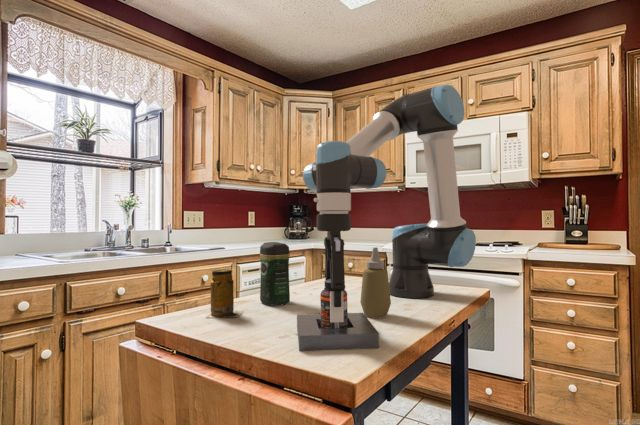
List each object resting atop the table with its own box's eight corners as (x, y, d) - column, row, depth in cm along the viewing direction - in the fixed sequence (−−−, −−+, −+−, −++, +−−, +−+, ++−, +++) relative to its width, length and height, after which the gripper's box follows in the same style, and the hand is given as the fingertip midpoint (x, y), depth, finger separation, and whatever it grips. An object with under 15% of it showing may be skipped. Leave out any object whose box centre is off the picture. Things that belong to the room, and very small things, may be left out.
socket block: (363, 325, 93) (362, 312, 93) (378, 348, 77) (378, 333, 77) (297, 327, 92) (296, 314, 92) (299, 351, 76) (299, 335, 76)
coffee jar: (293, 304, 115) (293, 242, 115) (269, 307, 111) (269, 243, 111) (279, 298, 124) (279, 240, 124) (256, 301, 119) (256, 241, 119)
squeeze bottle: (388, 321, 97) (387, 249, 97) (356, 318, 99) (356, 248, 99) (393, 313, 104) (393, 246, 104) (364, 310, 107) (363, 246, 107)
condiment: (213, 311, 108) (213, 268, 108) (243, 311, 108) (243, 268, 108) (205, 318, 101) (205, 272, 101) (238, 318, 101) (237, 272, 101)
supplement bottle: (315, 331, 86) (314, 280, 85) (336, 325, 89) (335, 276, 89) (332, 338, 81) (331, 284, 81) (353, 332, 84) (352, 280, 84)
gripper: (313, 213, 95) (313, 305, 95) (320, 213, 74) (321, 331, 74) (343, 212, 95) (344, 304, 95) (359, 212, 75) (360, 329, 75)
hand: (334, 316), depth 85 cm, fingers open, 8 cm apart
